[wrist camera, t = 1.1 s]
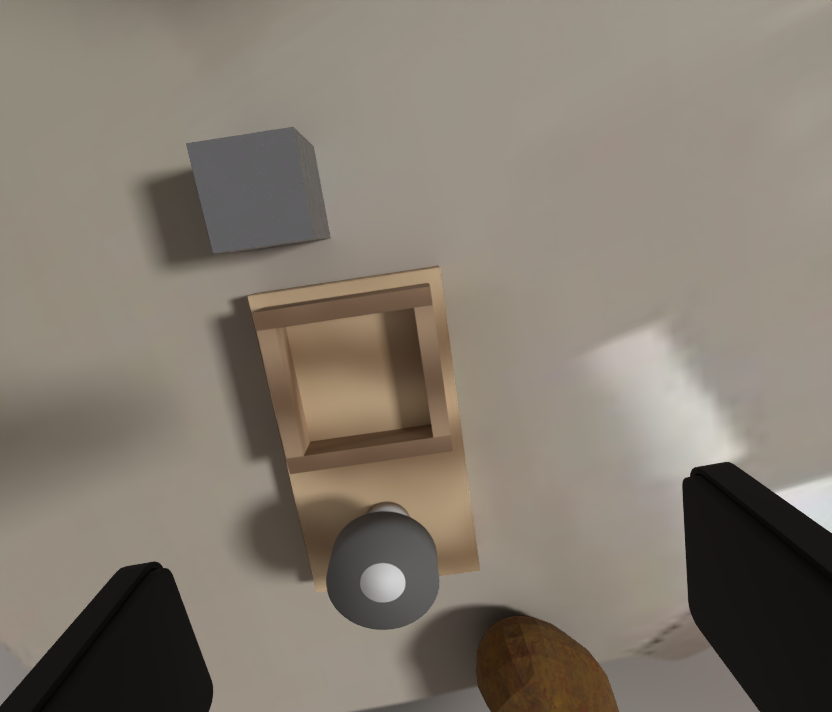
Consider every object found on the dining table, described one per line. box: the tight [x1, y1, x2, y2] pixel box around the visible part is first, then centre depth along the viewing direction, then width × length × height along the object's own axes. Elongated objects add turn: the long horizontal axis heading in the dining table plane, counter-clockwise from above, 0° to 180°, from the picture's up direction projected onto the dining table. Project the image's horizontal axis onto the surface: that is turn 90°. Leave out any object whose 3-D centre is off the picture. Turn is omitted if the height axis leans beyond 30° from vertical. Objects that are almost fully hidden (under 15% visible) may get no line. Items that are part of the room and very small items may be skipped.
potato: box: [476, 616, 619, 712], centre depth 31 cm, size 8×12×8 cm, turn 47°
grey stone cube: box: [186, 127, 330, 254], centre depth 25 cm, size 5×5×5 cm
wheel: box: [326, 511, 439, 630], centre depth 26 cm, size 6×6×2 cm
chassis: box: [248, 266, 480, 593], centre depth 29 cm, size 20×11×4 cm, turn 8°
